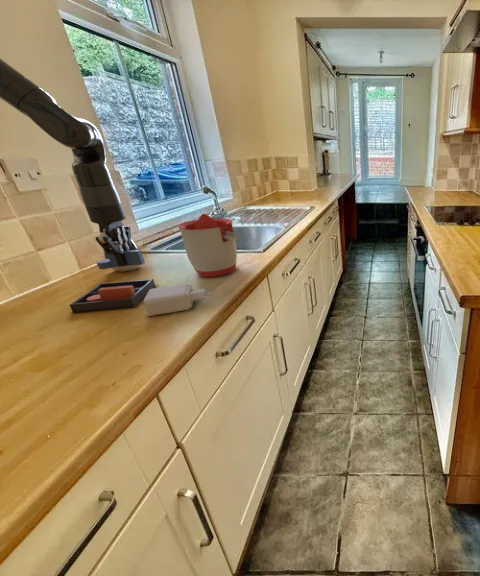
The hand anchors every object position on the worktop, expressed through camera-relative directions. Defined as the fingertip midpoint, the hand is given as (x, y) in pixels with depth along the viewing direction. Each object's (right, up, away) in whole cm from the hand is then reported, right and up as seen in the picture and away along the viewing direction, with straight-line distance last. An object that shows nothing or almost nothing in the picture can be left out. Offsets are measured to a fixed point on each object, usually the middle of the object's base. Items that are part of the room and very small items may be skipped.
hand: (125, 264), depth 91 cm
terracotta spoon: (-1, -11, -3) cm, 11 cm away
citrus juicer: (+17, -1, +19) cm, 26 cm away
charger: (+19, -12, -4) cm, 23 cm away
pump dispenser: (-17, 0, +22) cm, 28 cm away
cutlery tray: (-2, -10, 0) cm, 10 cm away
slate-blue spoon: (-1, 0, 0) cm, 1 cm away
